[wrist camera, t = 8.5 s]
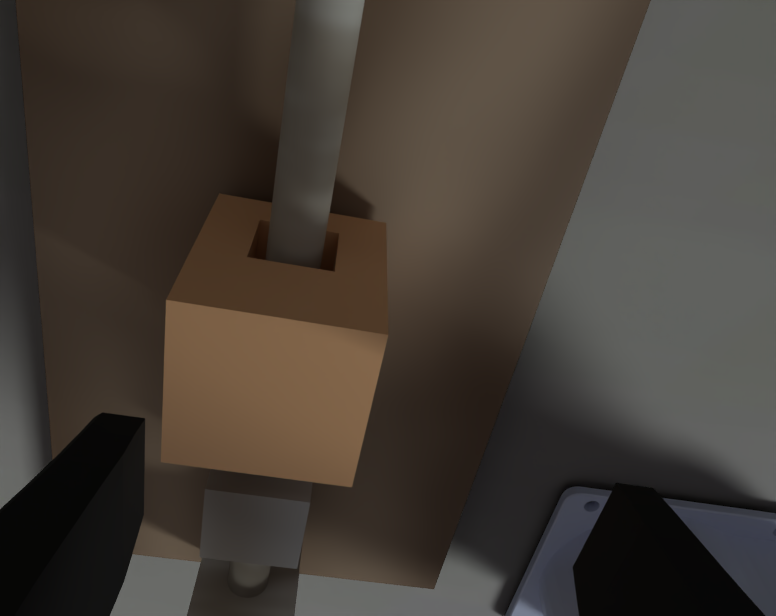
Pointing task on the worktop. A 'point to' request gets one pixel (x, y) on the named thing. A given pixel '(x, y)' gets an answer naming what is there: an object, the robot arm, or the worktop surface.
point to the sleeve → (274, 349)
